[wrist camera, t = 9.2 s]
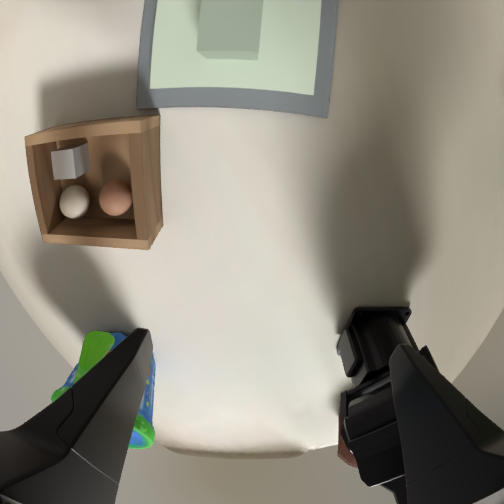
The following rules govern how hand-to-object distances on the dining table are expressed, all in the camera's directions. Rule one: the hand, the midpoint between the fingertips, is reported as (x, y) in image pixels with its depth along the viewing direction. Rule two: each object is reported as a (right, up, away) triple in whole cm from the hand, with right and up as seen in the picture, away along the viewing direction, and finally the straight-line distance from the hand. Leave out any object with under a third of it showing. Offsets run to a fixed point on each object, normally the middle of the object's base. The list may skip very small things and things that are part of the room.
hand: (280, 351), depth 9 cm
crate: (-12, +9, +9) cm, 17 cm away
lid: (-2, +17, +3) cm, 17 cm away
